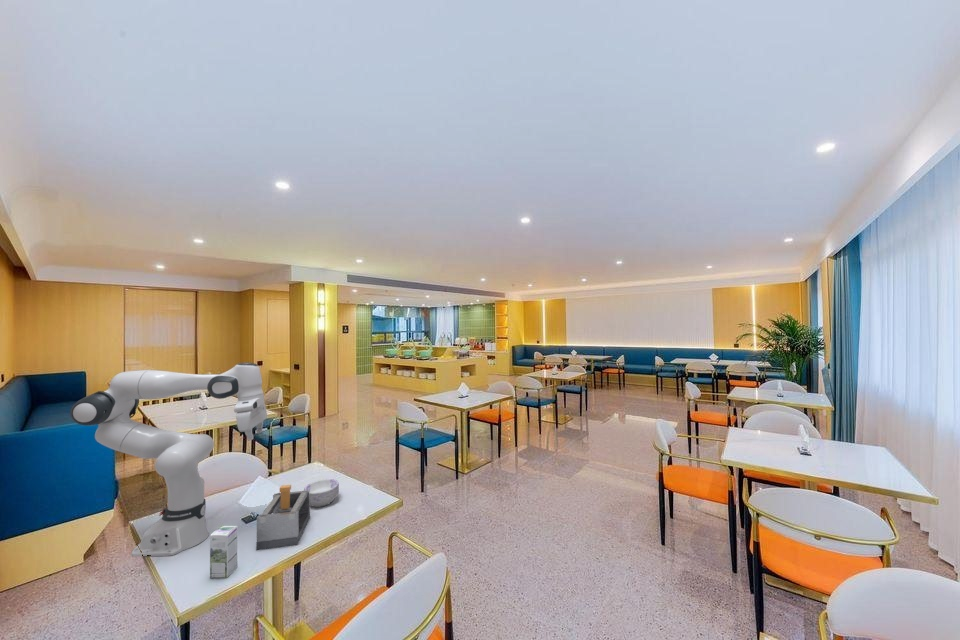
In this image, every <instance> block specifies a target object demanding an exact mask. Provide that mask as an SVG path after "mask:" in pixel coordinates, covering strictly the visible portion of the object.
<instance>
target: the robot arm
mask: <svg viewBox="0 0 960 640" xmlns="http://www.w3.org/2000/svg"><path fill="white" fill-rule="evenodd" d="M262 385H263V378H262V373H261V369H260V365H258V364H257V363H254V362H240V363H236V365H234V366H233V367H232V368H230V369H229V370H227V371H224V372H222V373H213V374H212V373H211V374H210V373H206V374H203V373H202V374H200V373H198V374H197V373H196V374H195V373H187V372H186V373H185V372H176V371H167V370H155V369H143V370H128V371H122V372H119V373H117V374H115V375H114V376H113V377H112V378H111V380H110V383H109V387H108V388H107V389H106V390H104V391H102V390H98V391H96V392H94V393H91V394H89V395H87V396H84V397H82V398H80V399H79V400H78V401H76V402H75V403H73V405H72V407H70V408H71V409H70V412H69V413H70V417H71V419H72V421H73V422H74V423H76V424H77V425H80V426H88V427H89V426H96V425H98V426H97V428H96V431H95V434H94V439H95V441H96V442H97V443H99V444H100V445H102V446H104V447H106V448H108V449H111V450H114V451H116V452H119V453H123V454H126V455H130V456H133V457H137V458H140V459H144V460H151V459H152V460H153V459H155V462H154V470H155V472H156V473H157V474H158V475H159V476H161V477H162V478H163V479H164V481H165V484H166V489H167V505H166V507H164V508H163V509H162V511H160V512H159V517H161V516H162V517H161V518H160V519H159V520H157V521H156V522H154V523H153V524H152V525H151V526H150V527H149V528H148V529H146V530H145V532H144V533H143V535H142V536H141V541H140V543H138V544H137V545H138V546H139V548H140V550H141V551H142V553H141V552H140V550H139V548H138V546H137V545H136V546H135V547H134V548H133V550H132V551H131V557H148V556H147V555H151V556H150V557H163V556H164V557H167V556H168V557H169V556H174V555H176V554H179V553H180V552H183V551H185V550H187V549H190V548H193V547H195V546H197V545H199V544H201V543H202V542H204V541H205V540H207V538H208V537H210V532H209V530H208V527H207V526H208V525H207V522H206V512H207V509H206V507H207V505H206V502H207V501H206V499H205V479H204V478H203V477H201V476H200V475H201V474H200V473H199V470H198V469H199V468H198V466H199V463H201V462H202V461H204V460H206V459H207V457H209V456H210V454H211V453H212V451H213V449H214V447H215V442H214V439H213V438H212V437H211V436H210V435H208V434H206V433H196V434H195V433H189V432H188V433H187V432H181V431H173V430H167V429H163V428H159V427H155V426H153V425H148V424H145V423H143V422H138V421H136V420H133V419H131V418H133V417H134V416H136V413H137V409H138V407H139V405H140V400H159V399H166V398H170V397H173V396H174V397H175V396H176V395H177V396H178V395H180V394H183V393H187V392H190V391H192V392H193V391H198V390H199V391H200V390H202V391H203V390H207V393H208V394H209V396H211V397H212V398H214V399H218V400H223V399H228V398H230V397H232V396H237V402H236V405H234V408H233V412H234V413H236V414H235V417H236V425H237V429H238V431H239V432H240V433H244V434H245V436H246V440H247V441H253V440H254V438H255V436H254V433H253V429H254V428H255V427H256V429H255V430H256V434H261V433H262V432H263V431H264V429H263V426H264V421H265V420H267V418H268V417H267V416H268V413H267V407H266V404H265V402H266V401H265V395H264V390H263V387H262ZM143 552H144V553H143ZM142 554H143V556H142Z"/></svg>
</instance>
